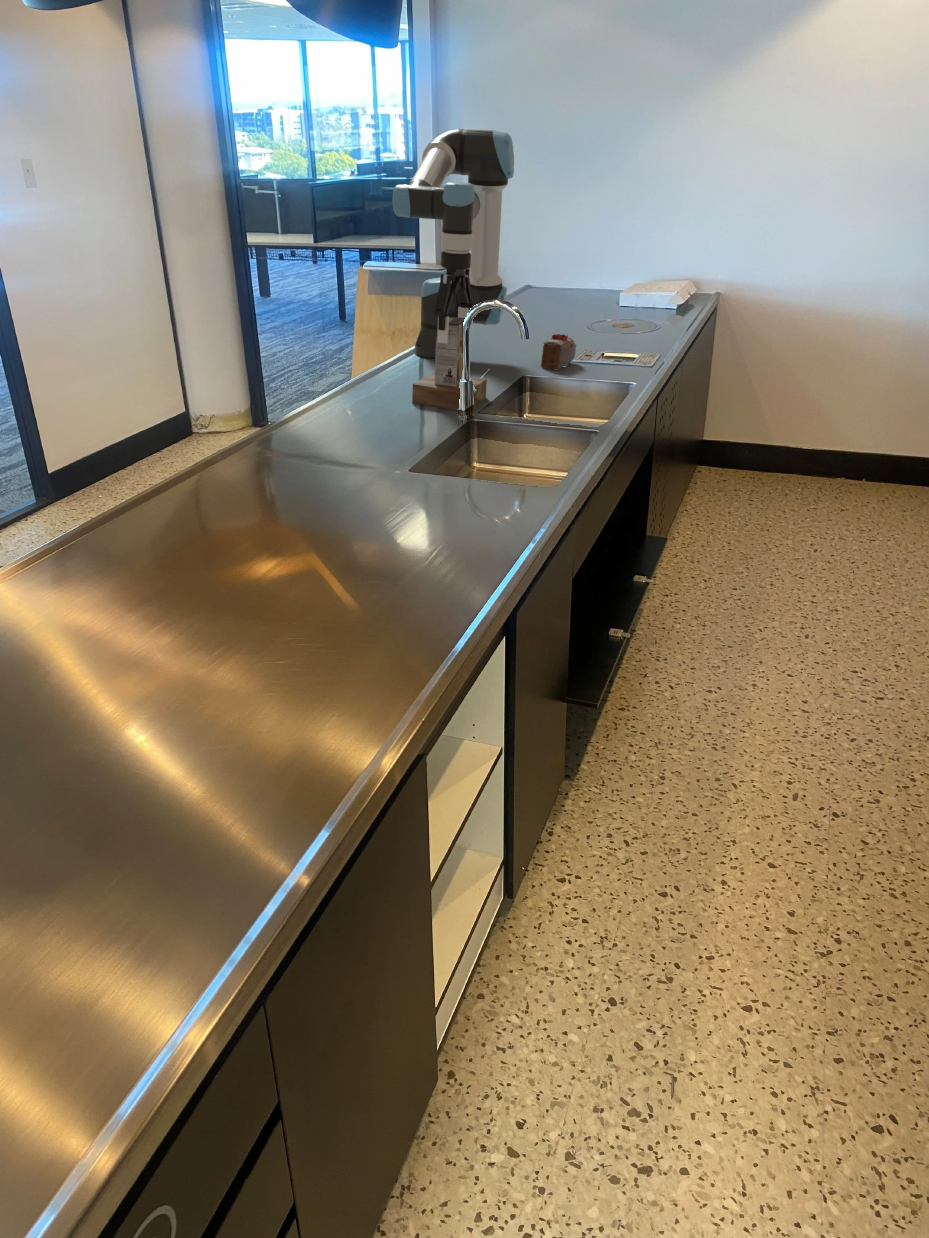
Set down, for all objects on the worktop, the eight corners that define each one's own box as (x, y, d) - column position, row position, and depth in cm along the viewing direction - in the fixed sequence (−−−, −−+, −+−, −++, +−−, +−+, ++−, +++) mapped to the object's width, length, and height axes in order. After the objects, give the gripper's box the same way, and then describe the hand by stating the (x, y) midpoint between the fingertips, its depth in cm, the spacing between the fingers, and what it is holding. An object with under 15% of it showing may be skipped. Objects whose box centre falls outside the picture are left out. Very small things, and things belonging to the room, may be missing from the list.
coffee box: (442, 376, 242) (445, 315, 234) (465, 379, 241) (468, 318, 233) (433, 384, 234) (436, 321, 226) (457, 387, 233) (460, 324, 225)
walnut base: (436, 389, 249) (436, 371, 247) (485, 397, 245) (486, 379, 242) (412, 402, 236) (412, 384, 234) (464, 411, 232) (465, 392, 229)
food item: (552, 359, 290) (555, 328, 285) (575, 363, 287) (579, 332, 282) (538, 368, 279) (541, 335, 274) (562, 371, 276) (565, 339, 271)
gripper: (460, 244, 233) (457, 327, 244) (422, 255, 213) (420, 345, 224) (487, 247, 231) (482, 330, 242) (451, 258, 211) (447, 349, 221)
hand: (452, 337), depth 233 cm, fingers open, 13 cm apart
